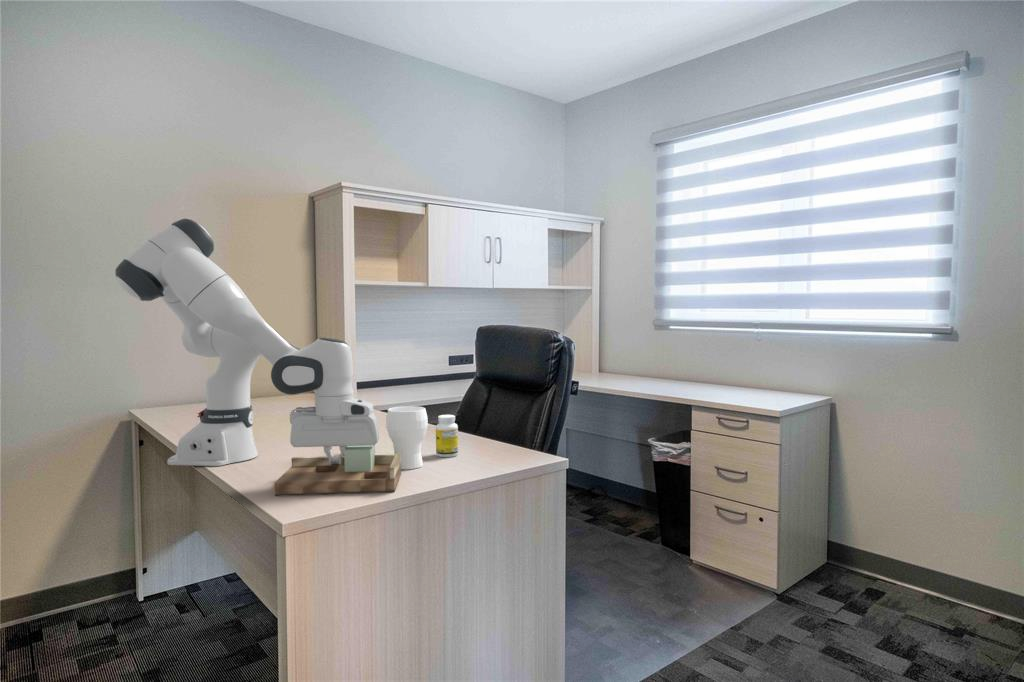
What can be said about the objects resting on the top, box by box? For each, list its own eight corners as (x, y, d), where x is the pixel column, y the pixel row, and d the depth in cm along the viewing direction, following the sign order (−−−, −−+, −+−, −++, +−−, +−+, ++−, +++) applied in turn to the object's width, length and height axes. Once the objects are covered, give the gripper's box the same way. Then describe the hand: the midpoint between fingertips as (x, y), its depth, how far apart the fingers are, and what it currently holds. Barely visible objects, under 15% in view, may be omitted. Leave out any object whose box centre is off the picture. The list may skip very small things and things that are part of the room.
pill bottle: (436, 452, 175) (435, 414, 174) (458, 452, 175) (457, 413, 175) (435, 458, 169) (435, 418, 168) (458, 457, 169) (457, 417, 169)
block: (344, 471, 143) (344, 450, 143) (349, 465, 149) (349, 445, 149) (370, 471, 144) (370, 450, 143) (374, 464, 150) (374, 444, 149)
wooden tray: (274, 496, 135) (273, 471, 135) (293, 477, 150) (292, 455, 150) (394, 492, 137) (394, 467, 137) (400, 474, 152) (400, 452, 152)
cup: (380, 465, 161) (378, 408, 160) (416, 459, 168) (415, 404, 167) (398, 473, 153) (397, 413, 152) (435, 466, 159) (434, 409, 158)
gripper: (285, 409, 141) (287, 469, 142) (375, 407, 143) (377, 466, 143) (293, 405, 147) (294, 462, 148) (379, 403, 149) (380, 460, 150)
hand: (335, 464), depth 146 cm, fingers closed
